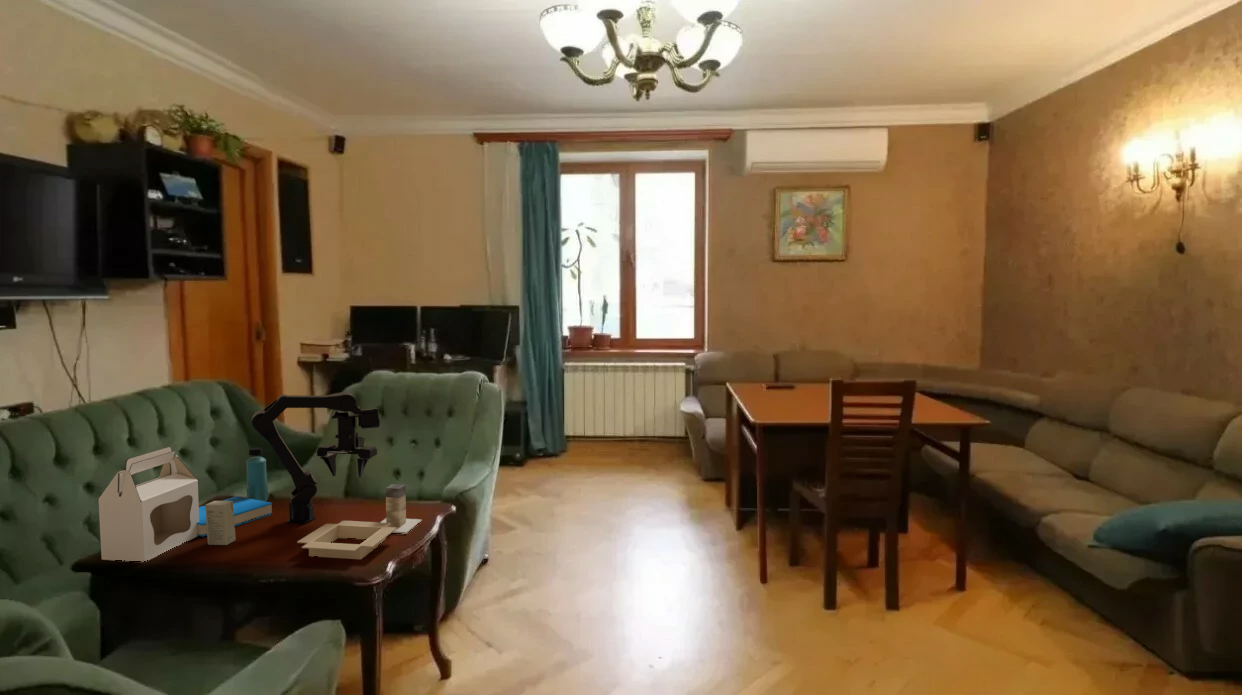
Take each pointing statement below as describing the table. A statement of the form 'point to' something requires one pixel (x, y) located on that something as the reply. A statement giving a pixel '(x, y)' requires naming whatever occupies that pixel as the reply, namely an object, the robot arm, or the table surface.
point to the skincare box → (220, 522)
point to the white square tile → (405, 525)
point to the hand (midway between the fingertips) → (347, 476)
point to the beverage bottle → (256, 476)
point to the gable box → (148, 509)
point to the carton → (328, 533)
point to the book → (238, 512)
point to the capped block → (396, 505)
